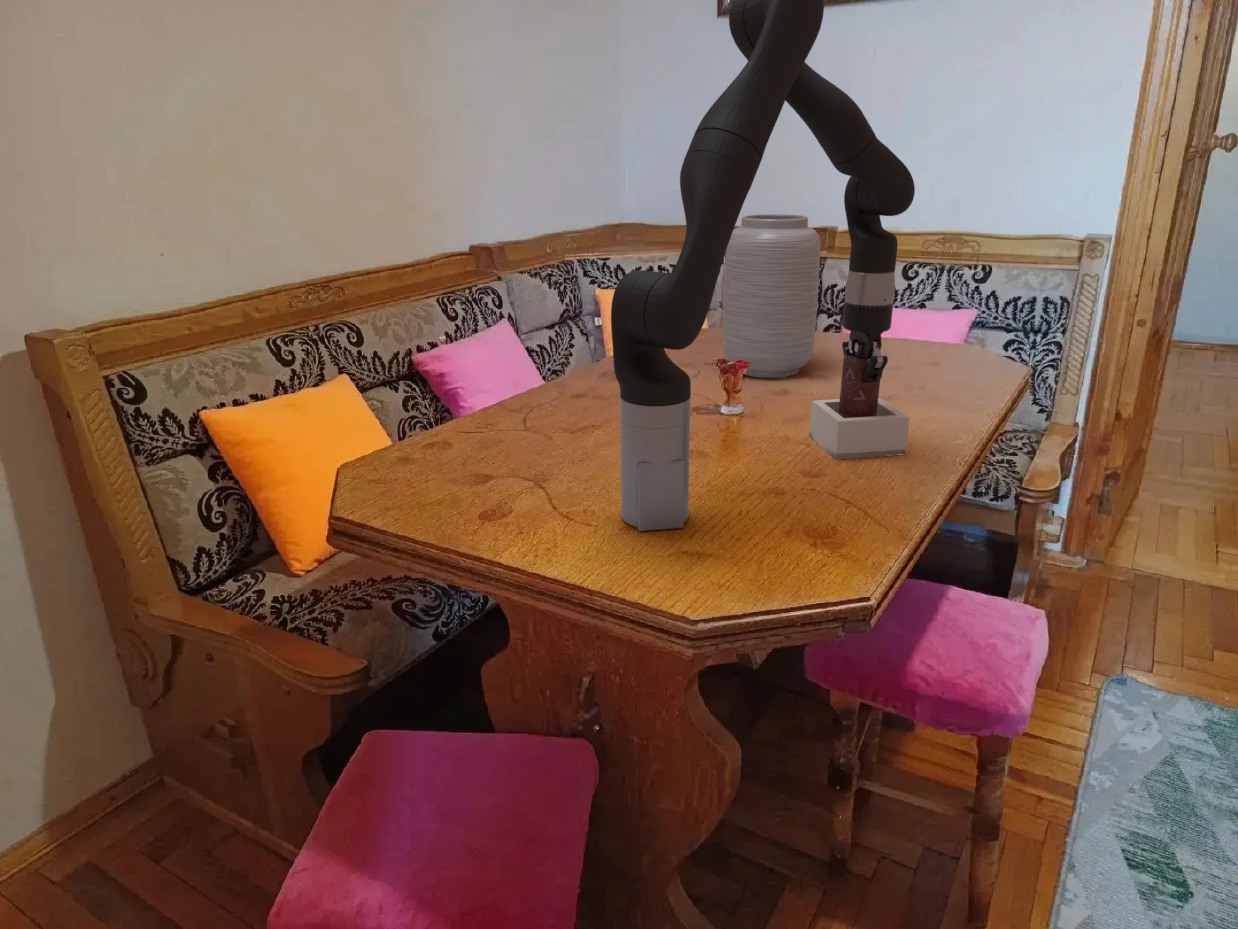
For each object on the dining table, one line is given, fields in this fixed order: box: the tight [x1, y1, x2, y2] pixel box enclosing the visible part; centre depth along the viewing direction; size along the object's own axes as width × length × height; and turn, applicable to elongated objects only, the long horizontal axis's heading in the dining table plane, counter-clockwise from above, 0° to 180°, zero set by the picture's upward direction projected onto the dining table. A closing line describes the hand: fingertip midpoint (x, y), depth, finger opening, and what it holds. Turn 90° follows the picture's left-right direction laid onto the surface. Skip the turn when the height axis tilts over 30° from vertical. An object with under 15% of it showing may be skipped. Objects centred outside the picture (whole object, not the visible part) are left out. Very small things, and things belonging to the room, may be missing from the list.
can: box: [839, 352, 884, 418], centre depth 140 cm, size 6×6×14 cm
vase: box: [722, 213, 821, 379], centre depth 186 cm, size 20×20×34 cm
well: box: [808, 396, 911, 461], centre depth 142 cm, size 12×12×6 cm
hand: (859, 403), depth 141 cm, fingers closed
